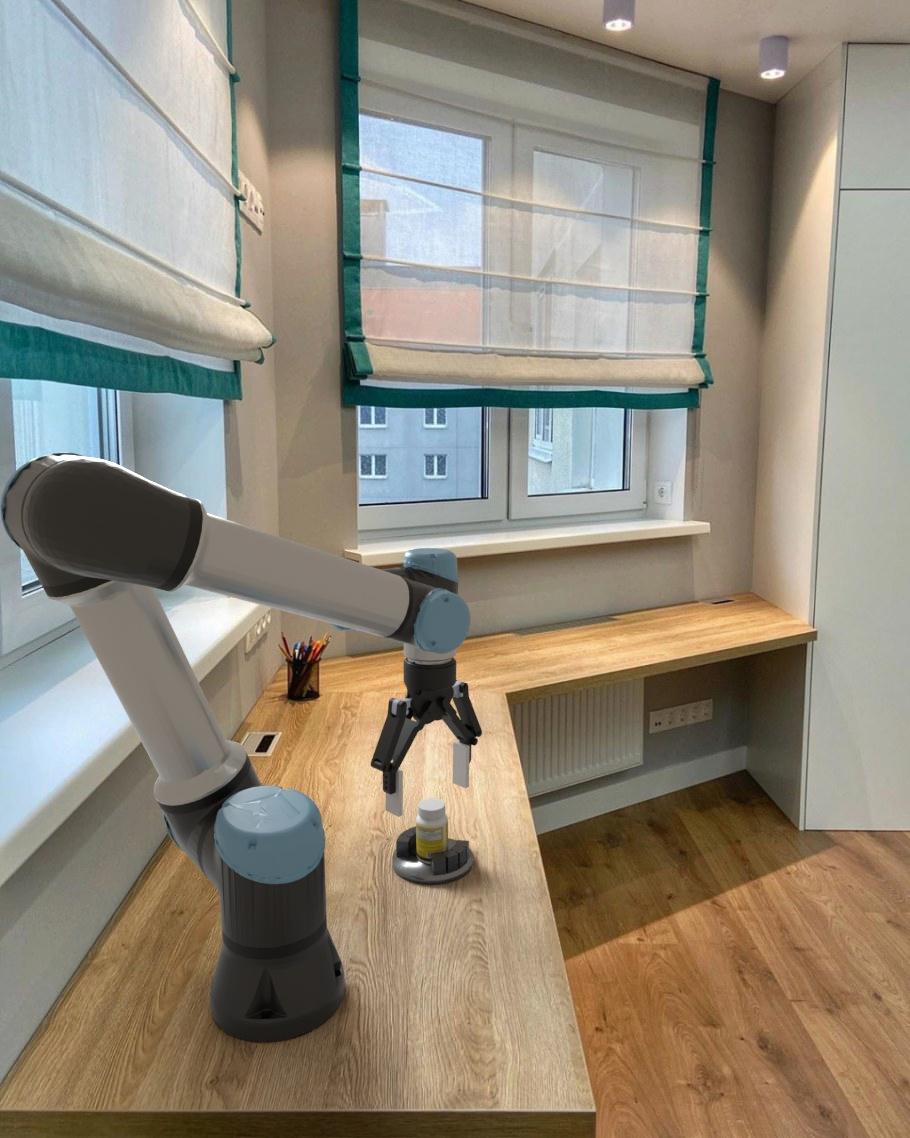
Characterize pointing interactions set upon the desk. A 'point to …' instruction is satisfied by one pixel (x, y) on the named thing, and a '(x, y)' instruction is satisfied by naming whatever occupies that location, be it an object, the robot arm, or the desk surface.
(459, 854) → the toothed grey disc
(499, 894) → the desk surface
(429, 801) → the supplement bottle
